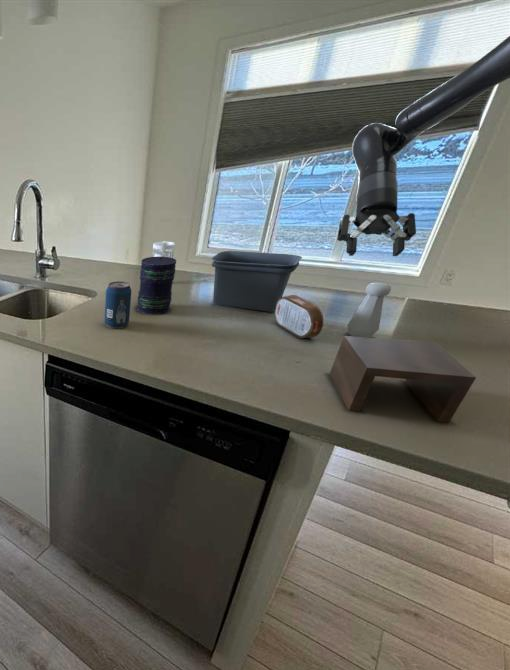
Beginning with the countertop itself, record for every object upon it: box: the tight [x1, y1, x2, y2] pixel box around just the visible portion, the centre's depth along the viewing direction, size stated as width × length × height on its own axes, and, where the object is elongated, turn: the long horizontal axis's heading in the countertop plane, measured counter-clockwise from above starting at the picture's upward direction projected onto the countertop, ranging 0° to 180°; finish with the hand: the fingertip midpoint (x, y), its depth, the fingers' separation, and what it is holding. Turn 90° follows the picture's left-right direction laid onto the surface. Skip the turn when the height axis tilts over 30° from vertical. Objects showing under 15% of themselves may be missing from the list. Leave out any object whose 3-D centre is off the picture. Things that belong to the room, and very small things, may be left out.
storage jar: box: [136, 256, 177, 315], centre depth 122 cm, size 10×10×15 cm
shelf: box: [329, 335, 477, 423], centre depth 75 cm, size 14×14×9 cm
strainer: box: [151, 240, 176, 258], centre depth 144 cm, size 7×7×15 cm
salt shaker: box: [347, 282, 392, 338], centre depth 96 cm, size 6×6×13 cm
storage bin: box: [211, 250, 302, 313], centre depth 120 cm, size 21×16×14 cm
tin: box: [274, 294, 324, 339], centre depth 102 cm, size 15×3×8 cm, turn 0°
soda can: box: [103, 281, 132, 329], centre depth 114 cm, size 7×7×12 cm
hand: (374, 254), depth 97 cm, fingers open, 8 cm apart
